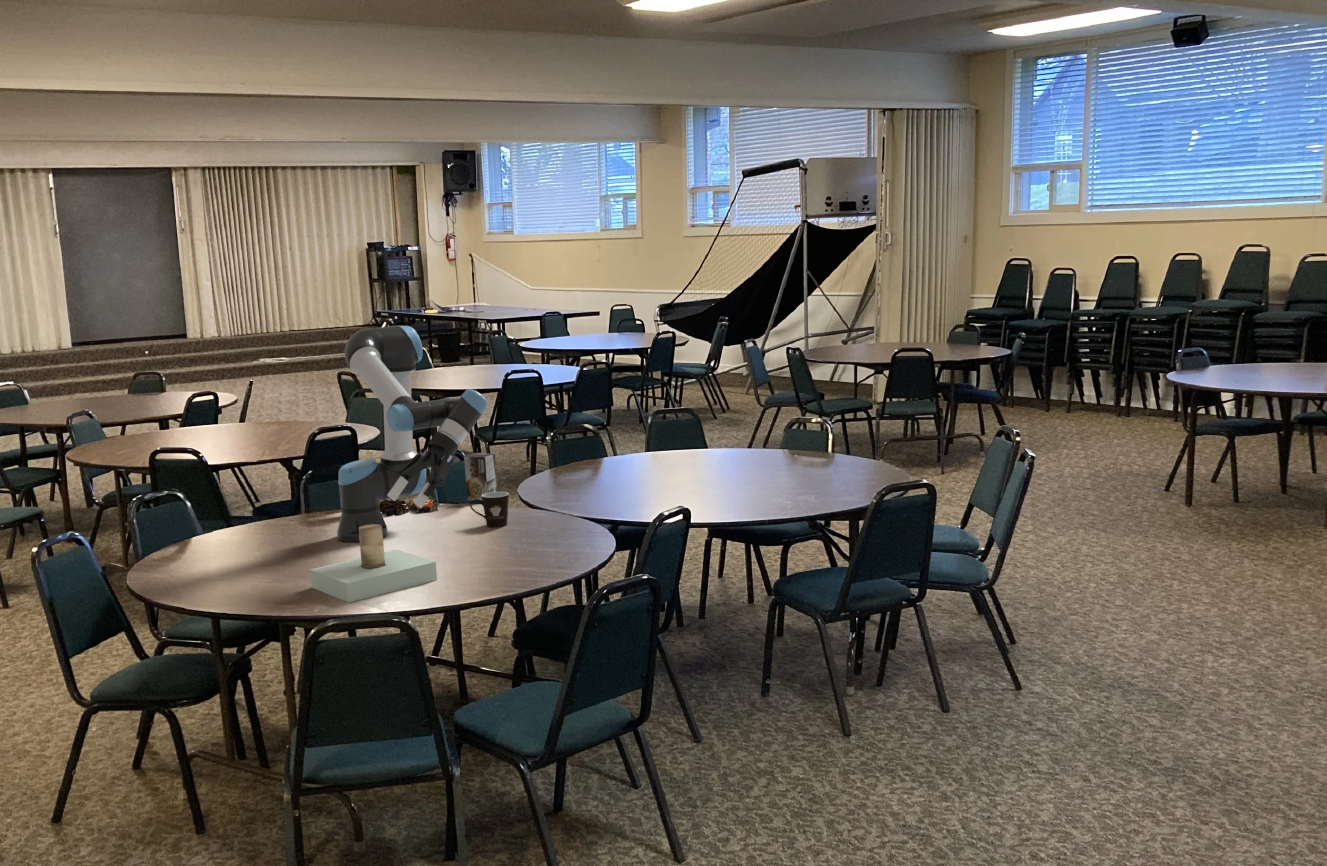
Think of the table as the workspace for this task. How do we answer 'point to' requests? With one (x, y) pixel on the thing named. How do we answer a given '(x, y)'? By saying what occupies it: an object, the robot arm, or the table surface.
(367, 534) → the beech peg
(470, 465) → the printed box
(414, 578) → the sage board
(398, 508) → the food
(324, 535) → the table surface
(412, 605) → the table surface
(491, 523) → the coffee mug
